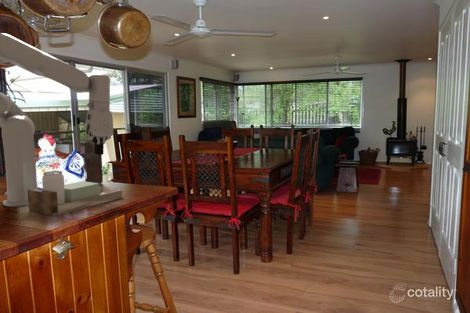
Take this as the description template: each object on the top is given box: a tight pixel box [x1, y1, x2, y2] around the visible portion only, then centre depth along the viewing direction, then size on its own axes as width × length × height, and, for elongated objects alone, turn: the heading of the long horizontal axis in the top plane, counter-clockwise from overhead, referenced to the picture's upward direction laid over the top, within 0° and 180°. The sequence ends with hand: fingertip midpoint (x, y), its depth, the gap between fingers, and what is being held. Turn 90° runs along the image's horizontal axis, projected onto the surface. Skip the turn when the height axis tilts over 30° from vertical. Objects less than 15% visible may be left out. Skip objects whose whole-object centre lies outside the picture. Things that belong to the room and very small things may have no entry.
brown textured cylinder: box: [83, 140, 104, 185], centre depth 167 cm, size 8×7×20 cm
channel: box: [27, 186, 123, 218], centre depth 132 cm, size 12×30×8 cm, turn 152°
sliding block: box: [64, 180, 101, 203], centre depth 132 cm, size 9×12×6 cm
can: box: [41, 170, 65, 205], centre depth 123 cm, size 6×6×12 cm
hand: (98, 154), depth 144 cm, fingers closed
